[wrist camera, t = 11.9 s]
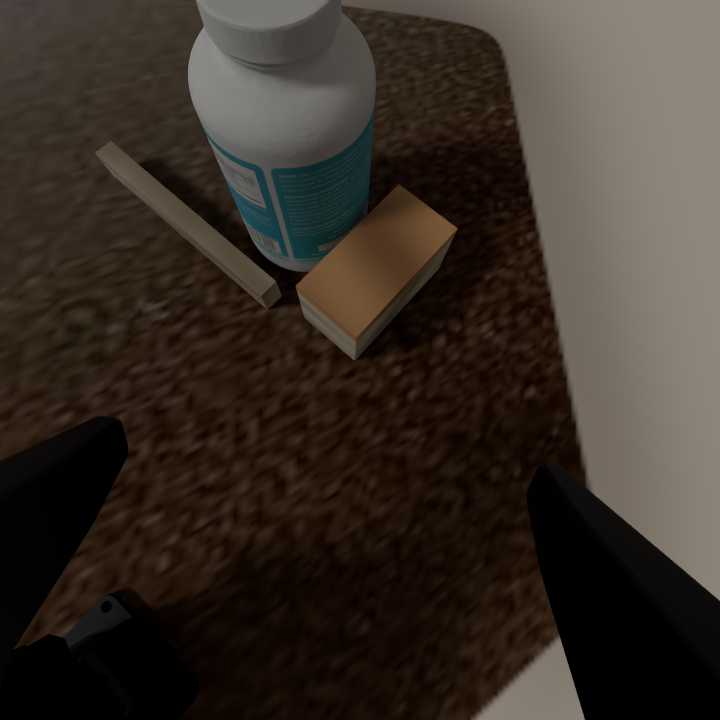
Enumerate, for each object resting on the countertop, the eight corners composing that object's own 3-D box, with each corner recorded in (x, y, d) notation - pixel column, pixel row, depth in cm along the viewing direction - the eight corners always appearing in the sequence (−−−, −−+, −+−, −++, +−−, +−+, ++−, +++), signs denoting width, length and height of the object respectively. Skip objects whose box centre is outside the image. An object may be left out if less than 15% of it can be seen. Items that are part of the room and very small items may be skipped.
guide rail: (267, 310, 24) (260, 296, 22) (113, 176, 26) (95, 152, 24) (281, 296, 24) (276, 281, 22) (128, 164, 26) (110, 140, 24)
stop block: (354, 360, 23) (356, 337, 19) (304, 317, 24) (295, 285, 19) (438, 268, 25) (457, 228, 21) (390, 231, 25) (398, 184, 21)
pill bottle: (372, 183, 26) (399, -92, 13) (358, 284, 24) (372, 79, 11) (261, 168, 26) (178, -122, 13) (238, 268, 24) (114, 44, 11)
